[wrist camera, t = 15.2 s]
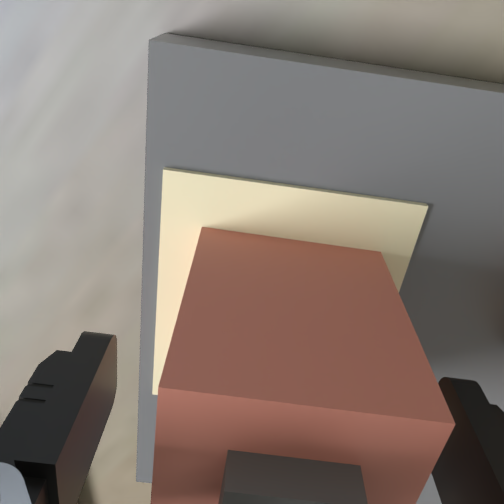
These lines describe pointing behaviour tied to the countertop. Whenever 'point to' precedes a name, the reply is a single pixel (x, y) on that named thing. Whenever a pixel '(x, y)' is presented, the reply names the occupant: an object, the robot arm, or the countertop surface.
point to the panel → (327, 190)
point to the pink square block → (294, 381)
